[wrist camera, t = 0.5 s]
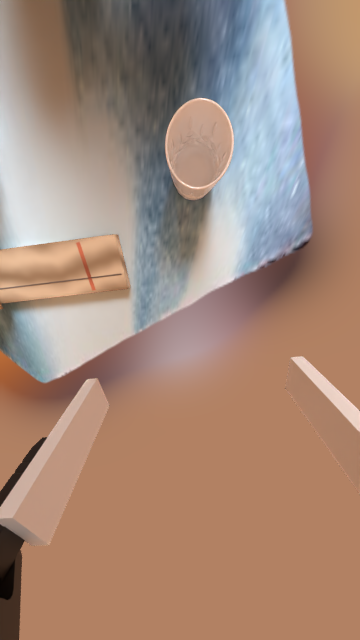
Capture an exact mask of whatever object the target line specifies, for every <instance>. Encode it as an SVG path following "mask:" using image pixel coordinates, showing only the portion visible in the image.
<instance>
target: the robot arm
mask: <svg viewBox="0 0 360 640" xmlns="http://www.w3.org/2000/svg"><path fill="white" fill-rule="evenodd" d="M285 389H286V390H287V392H288V393H289V394H290V396H291V397H292V399H293V400H294V401H295V403H296V404H297V406H298V407H299V409H300V410H301V411H302V413H303V414H304V416H305V417H306V419H307V420H308V421H309V423H310V424H311V426H312V427H313V429H314V430H315V431H316V433H317V434H318V436H319V437H320V438H321V440H322V441H323V443H324V444H325V446H326V447H327V449H328V450H329V451H330V453H331V454H332V455H333V457H334V459H335V460H336V461H337V463H338V464H339V466H340V467H341V468H342V470H343V471H344V473H345V474H346V476H347V477H348V478H349V480H350V481H351V483H352V484H353V486H354V487H355V488H356V490H357V491H358V493H359V494H360V410H358V409H357V408H356V407H355V406H354V405H353V404H352V403H351V402H350V401H349V400H348V399H347V398H345V397H344V396H343V395H342V394H341V393H340V392H339V391H338V390H337V389H336V388H335V387H334V386H333V385H332V384H331V383H330V382H329V381H328V380H327V379H326V378H325V377H324V376H323V375H322V374H321V373H319V372H318V371H317V370H316V369H315V368H314V367H313V366H312V365H311V364H310V363H309V362H308V361H307V360H306V359H305V358H304V357H292V358H290V363H289V369H288V376H287V382H286V388H285ZM108 407H109V403H108V401H107V399H106V396H105V394H104V392H103V390H102V388H101V385H100V383H99V381H98V379H97V378H95V379H87V380H86V381H85V383H84V384H83V386H82V387H81V389H80V390H79V392H78V393H77V394H76V396H75V397H74V399H73V401H72V402H71V403H70V405H69V406H68V408H67V409H66V411H65V412H64V414H63V415H62V417H61V418H60V420H59V421H58V423H57V424H56V426H55V427H54V429H53V430H52V432H51V433H50V434H49V436H48V437H45V438H42V439H41V440H40V441H39V442H37V443H36V444H35V445H34V446H33V447H32V448H31V450H30V451H29V453H28V454H27V455H26V457H25V458H24V459H23V462H22V463H21V464H20V465H19V466H18V468H17V469H16V471H15V473H14V474H13V475H12V476H11V478H10V479H9V480H8V482H7V483H6V484H5V486H4V487H3V489H2V490H1V491H0V640H19V625H20V596H21V567H22V554H21V551H20V549H21V547H22V545H23V542H24V541H26V542H27V543H29V544H30V545H32V546H35V545H49V544H50V542H51V539H52V537H53V534H54V532H55V530H56V528H57V525H58V523H59V521H60V518H61V516H62V514H63V512H64V509H65V507H66V505H67V502H68V500H69V498H70V495H71V493H72V491H73V488H74V486H75V484H76V481H77V479H78V477H79V475H80V472H81V469H82V468H83V465H84V463H85V461H86V458H87V456H88V454H89V451H90V449H91V447H92V445H93V442H94V440H95V438H96V435H97V433H98V431H99V428H100V426H101V424H102V421H103V419H104V416H105V415H106V412H107V410H108Z"/></svg>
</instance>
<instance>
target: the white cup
mask: <svg viewBox="0 0 360 640" xmlns="http://www.w3.org/2000/svg"><path fill="white" fill-rule="evenodd" d="M233 146H234V137H233V130H232V126H231V122H230V120H229V118H228V116H227V114H226V112H225V111H224V110H223V108H222V107H221V106H220V105H218V104H217V103H216V102H214V101H212V100H210V99H206V98H197V99H193V100H190V101H188V102H186V103H185V104H183V105H182V106H181V107H180V108H179V109H178V110H177V111H176V113H175V114H174V116H173V117H172V119H171V121H170V124H169V126H168V130H167V134H166V140H165V152H166V159H167V162H168V166H169V169H170V173H171V176H172V179H173V182H174V184H175V186H176V188H177V190H178V193H179V194H181V195H182V196H183V197H184V198H185V199H188V200H193V201H195V200H198V199H200V198H203V197H204V196H205V195H206V194H207V193H208V192H209V191H210V190H211V189H212V188H213V187H214V186H215V185H216V184H217V182H218V181H219V180H220V179H221V177H222V176H223V175H224V173H225V172H226V170H227V168H228V166H229V164H230V161H231V158H232V154H233Z"/></svg>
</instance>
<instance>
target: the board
mask: <svg viewBox="0 0 360 640" xmlns="http://www.w3.org/2000/svg"><path fill="white" fill-rule="evenodd" d="M129 287H130V282H129V278H128V274H127V269H126V265H125V261H124V257H123V253H122V249H121V245H120V241H119V236H118V235H116V234H113V235H105V236H98V237H91V238H83V239H76V240H69V241H61V242H54V243H47V244H39V245H32V246H24V247H17V248H10V249H2V250H0V304H2V303H10V302H19V301H27V300H36V299H44V298H53V297H61V296H70V295H79V294H87V293H96V292H104V291H113V290H121V289H128V288H129Z"/></svg>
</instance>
